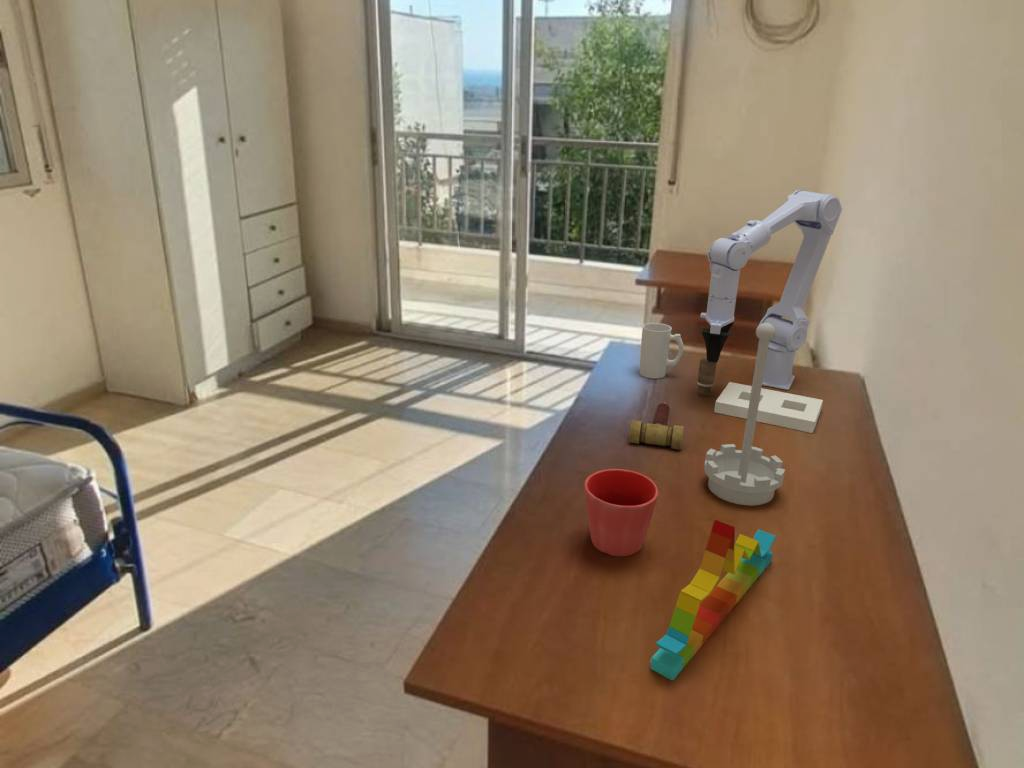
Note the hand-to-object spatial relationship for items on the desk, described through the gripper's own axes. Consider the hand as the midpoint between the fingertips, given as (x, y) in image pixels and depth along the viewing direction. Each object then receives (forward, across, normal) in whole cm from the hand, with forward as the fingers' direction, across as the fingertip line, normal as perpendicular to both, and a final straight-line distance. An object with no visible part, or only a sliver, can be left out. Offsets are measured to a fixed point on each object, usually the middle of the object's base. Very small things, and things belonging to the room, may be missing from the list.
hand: (714, 355), depth 159 cm
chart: (+10, +73, +10) cm, 75 cm away
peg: (+10, -2, -1) cm, 10 cm away
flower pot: (+10, +63, -6) cm, 64 cm away
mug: (+10, -9, -13) cm, 19 cm away
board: (+10, +3, +13) cm, 16 cm away
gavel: (+10, +20, -7) cm, 24 cm away
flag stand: (+10, +39, +10) cm, 42 cm away
